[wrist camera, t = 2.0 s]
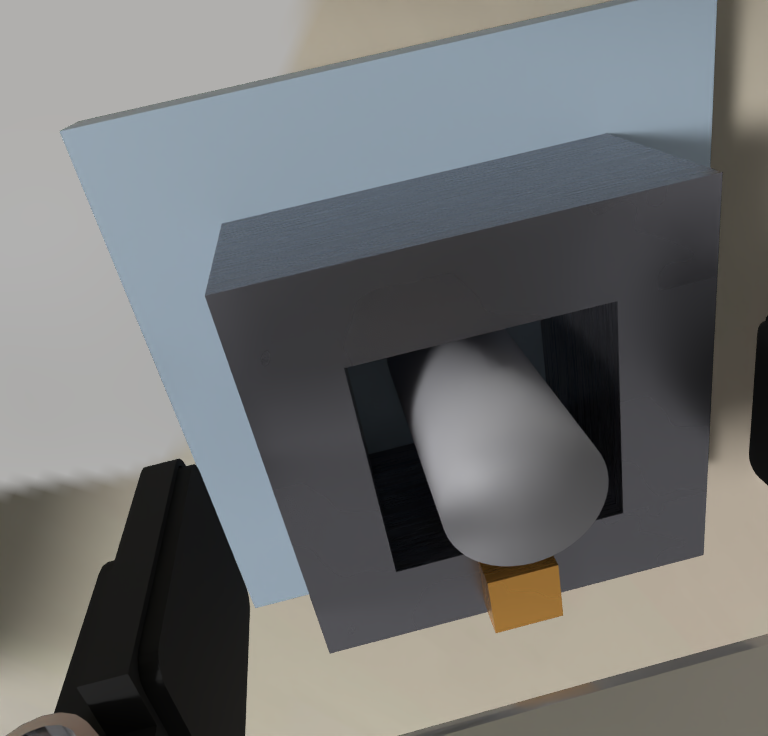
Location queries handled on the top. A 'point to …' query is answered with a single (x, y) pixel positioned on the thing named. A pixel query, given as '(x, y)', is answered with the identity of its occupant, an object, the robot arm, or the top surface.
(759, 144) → the top surface
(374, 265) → the grey square socket block
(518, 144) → the stand
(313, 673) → the top surface
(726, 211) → the top surface
